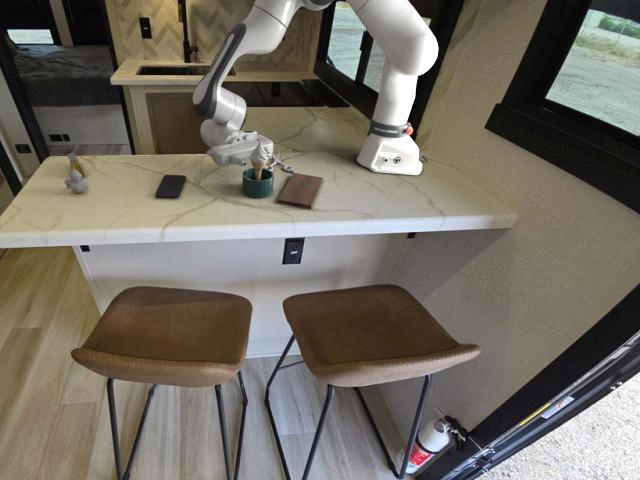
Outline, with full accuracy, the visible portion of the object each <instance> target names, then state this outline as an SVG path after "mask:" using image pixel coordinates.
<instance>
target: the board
mask: <svg viewBox="0 0 640 480" xmlns="http://www.w3.org/2000/svg"><path fill="white" fill-rule="evenodd" d="M323 181H324V177H323V176H316V175H311V174H310V175H309V174H304V173H297V172H296V173H293V172H292V175H291V176H290V178H289V180H288V181H287V183H286V184H285V187H284V188H283V190H282V192H281V194H280V195H279V197H278V199H277V204H282V205H286V206H291V207H297V208H302V209H307V210H311V209H312V207H313V205H314V202H315V200H316V197H317V195H318V193H319V190H320V188H321V186H322V183H323Z"/></svg>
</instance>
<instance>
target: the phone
mask: <svg viewBox="0 0 640 480" xmlns="http://www.w3.org/2000/svg"><path fill="white" fill-rule="evenodd" d="M186 179H187V175H185V174H165V175H163V176H162V178H161V181H160V183H159V185H158V187H157V189H156V191H155V194H154V195H155V198H157V199H178V198H180V197H181V193H182V191H183V188H184V187H185V186H184V185H185V182H186Z"/></svg>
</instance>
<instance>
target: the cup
mask: <svg viewBox="0 0 640 480" xmlns="http://www.w3.org/2000/svg"><path fill="white" fill-rule="evenodd" d="M274 181H275V173H274V171H270V169H269V168H267V169H265V167H264V168H263V169H262V172H261V178H260V180H256V178H255V169H254V167H250V168H247V169H245V170H243V171H242V179H241V183H242V184H241V191H242V194H243V195H244V196H246V197H248V198H251V199H266V198H269V197H270V196H271V195H272V194H273V190H274Z"/></svg>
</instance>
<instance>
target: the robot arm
mask: <svg viewBox="0 0 640 480" xmlns="http://www.w3.org/2000/svg"><path fill="white" fill-rule="evenodd" d="M344 1H345V2H346V3H348V5H349V7H350V8H351V10H352V11H353V12H354V14H355V15H356V17H357V18H358V19H359V21H360V22H361V23H362V25H363V27H364V29H366V31H367V33H368V34H369V35H370V37H372V39H373V40H374V41H375V42H376V44H377V45H378V47H379V48H380V50H382V52H383V53H384V55H385V57H384V62H383V67H382V73H381V80H380V85H379V87H380V88H379V92H378V96H377V100H376V104H375V108H374V111H373V115H372V117H371V118H370V120H369V124H368V126H367V130H366V137H365V141H364V143H363V146H362V148H361V150H360V152H359V154H358V156H357V157H356V161H357V163H358V164H359V165H361V166H363V167H365V168H366V169H369V170H370V171H371V172H373V173H381V174H382V173H383V174H393V175H394V174H395V175H407V176H418V175H420V174H421V172H422V170H423V164H422V162H421V161H420V159H421V158H422V159H423V160H424V161H425V162H428V161H429V158H428V157H427V156H426V155H425V154H424V152H423V151H422V150H421V151H420V149H419V147H418V145H417V144H416V143H415V141H414V140H413V138H412V137H411V135H412V133H413V131H414V129H413V127H412V125H411V123H410V122H408V119H409V116H410V113H411V110H412V108H413V107H412V106H413V104H414V101H415V98H416V89H417V82H418V81H417V80H418V76H421V75H424V74H425V73H426V72H428V71H429V70H431V68H432V66H433V65H434V64H435V62H436V60H437V58H438V53H439V46H438V45H439V44H438V41H437V38H436V36H435V35H434V33H433V32H432V30H431V29H430V28H429V26H428V25H427V23H426V22H425V20H424V19H423V18H422V16H421V15H420V14H419V12H418V11H417V10H416V8H415V7H414V6H413V5H412V3H411V2H410V1H409V0H344ZM333 2H335V0H255V1H254V4H253V6H252V9H251V10H250V12H249V13H248V15H247V17H246V18H244V20H243V21H242V22H240V23H238V22H237V23H236V24H234V25H233V27H232V28H231V29H230V31H229V32H228V34H227V36H225V38H224V40H223V42H222V44H221V46H220V47H219V49H218V51H217V53H216V55H215V56H214V57H213V59H212V61H211V63H210V65H209V67H208V69H207V70H206V72H205V74H204V75H203V77H202V78H201V80H200V81H199V82H198V83H197V84H196V86H195V88H194V90H193V91H192V97H191V102H192V107H193V109H194V111H195V113H196V115H197V116H198V117H200V118H204V119H206V120H204V121H203V122H202V123H201V125H200V130H199V133H200V137H201V139H202V141H203V142H204V143H205V144H206V146H208V147H209V149H208V150H206V155H207V156H209V157H210V158H211V160H212V161H213V162H214V163H215V164H216V165H217V166H218V167H226V166H231V165H237V166H240V167H244V166H246V165H247V161H249V160H250V155H251V154H252V152H253V151H254V149H255V148H256V147H257V145H258V144H259V142H260V141H261V144H262V146H263V148H264V149H265V151H266V153H267V154H268V156H267V157H268V160H272V158H273V156H272V153H273V152H274V142H273V141H272V139H270V138H268V137H266V136H265V135H261V134H259V133H258V131H256V130H252V129H251V130H246V129H245V130H243V128H244V125H245V123H246V121H247V118H248V117H247V116H248V105H247V102H246V100H245V99H244V98H243V97H242V96H240V95H238V94H236V93H234V92H231V91H230V90H228V89H226V88H224V87H222V84H223V82H224V81H225V79H226V77H227V75H228V74H229V72H230V71H231V69H232V67H233V65H234V63H235V62H236V61H237V59H238V58H240V57H241V56H244V55H267V54H269V53H271V52H273V51H275V50H276V49H277V48H278V47H279V45H280V44H281V42H282V40H283V38H284V36H285V34H286V32H287V29H288V28H289V25H290V24H291V21H292V19H293V17H294V15H295V13H297V11H298V10H302V11H305V12H308V13H309V12H310V13H315V12H318V11H322V10H324V9H326V8H328V6H330V5H331V4H332V3H333ZM250 161H251V160H250Z"/></svg>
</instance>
